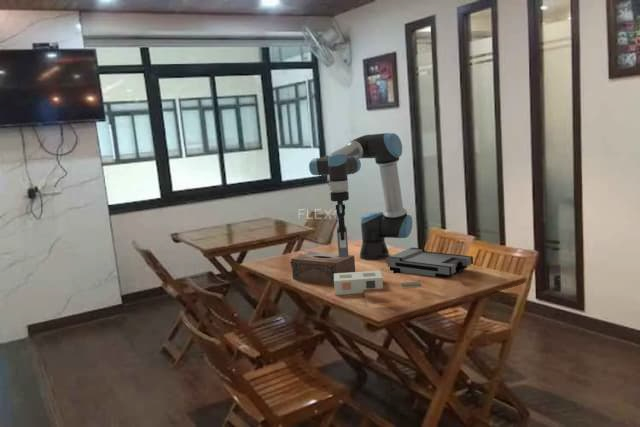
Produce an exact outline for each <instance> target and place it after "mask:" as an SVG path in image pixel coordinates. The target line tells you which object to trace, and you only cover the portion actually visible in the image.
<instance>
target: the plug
mask: <svg viewBox="0 0 640 427" xmlns="http://www.w3.org/2000/svg"><path fill="white" fill-rule="evenodd" d="M347 229H348V228H347V226H345V233H346V248H340V241H339V233H337V231H339V224H338V225H337V227H336V234H337V247H338V248H337V249H338V250H337V251H338V254H339V257H348V255H349V244H348V234H347V233H348V230H347Z"/></svg>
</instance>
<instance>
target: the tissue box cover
mask: <svg viewBox="0 0 640 427" xmlns="http://www.w3.org/2000/svg"><path fill="white" fill-rule="evenodd" d="M299 255H300V256H299ZM299 255H297V256H295V257H292V258H291V259H290V262H291V261H292V267H291V269H292V270H291V271H292V279H293V280H301V281H308V282H309V281H310V282H315V281H317V282H316V283H323V282H324V283H325V284H333V285H334V274H335V273H349V272H356V263H355V255H353V254H348V257H339V253H330V252H329V253H327V252H317V251H316V252H315V251H308V252H305V253H303V254H302V255H301V254H299ZM324 283H323V284H324Z"/></svg>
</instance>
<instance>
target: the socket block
mask: <svg viewBox="0 0 640 427" xmlns="http://www.w3.org/2000/svg"><path fill="white" fill-rule="evenodd" d="M383 282H384V281H383V275H382V272H381V270H380V269H379V270H365V271H355V272H349V273H335V274H334V284H333V286H334V295H335V296H340V295H355V294H356V295H357V294H365V290H379V289H381V290H382V289H384V285H383V284H384V283H383Z"/></svg>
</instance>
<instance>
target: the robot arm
mask: <svg viewBox="0 0 640 427" xmlns="http://www.w3.org/2000/svg"><path fill="white" fill-rule="evenodd" d="M402 154H403V144H402V141H401V138H400V137H399V136H398V134H396V133H393V132H392V133H391V132H385V133H384V132H383V133H374V134H365V135H362V136H359V137H356V138H354V139H352V140H350V141H348V142H347V143H346V144H345V145H344V146H343V147H341V148H338V149H336V150H334V151H333V152H331V153H328V154H327V155H325V156H322V157H316V158H312V159H311V160H310V161H309V163H308V168H309V169H308V170H309V172H310V174H311V175H313V176H318V177H320V176H328V178H329V183H328V187H330V188H329V191H330V194H329V195H330V201H331V202H337V204H336V205H335V210H336V217H337V221H338V225H339V231H337V230H336V234H337V233H339V241H340V248H346V233H345V227H346V224H345V216H346V204H344V202H346V201H349V198H350V196H349V195H350V194H349V193H350V192H349V191H348V190H349V180H348V176H349V175H355V174H356V173H358V172H359V171H360V169H361V168H362V167H361V166H362V163H361V161H360V160H362V159H374V160H375V161H374V162H375V164H376V165H377V166H378V167H379V172H380V173H379V174H380V178H381V185H382V191H383V197H384V198H383V199H384V205H385V206H384V207H385V211H384V212H383V211H376V212H375V211H374V212H369V213H365V214H363V215H362V216H360V225H361V227H360V228H361V240H362V242H361V243H362V244H361V248H360V251H359V257H360V259H362V260H368V261H370V260H371V261H372V260H373V261H374V260H375V261H376V260H382V259H383V260H384V259H387V257H389V256H390V252H389V249H388V246H387V244H386V241H385V238H387V239H388V238H390V239H406V238H408V237H409V236H410V235H411V232H412V229H413V218H412V215H410V214H408V211H407V209H406V208H404V206H403V197H402V191H401V190H402V189H401V185H400V178H399V170H398V162H399V160H400V157H401V156H402Z"/></svg>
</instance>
